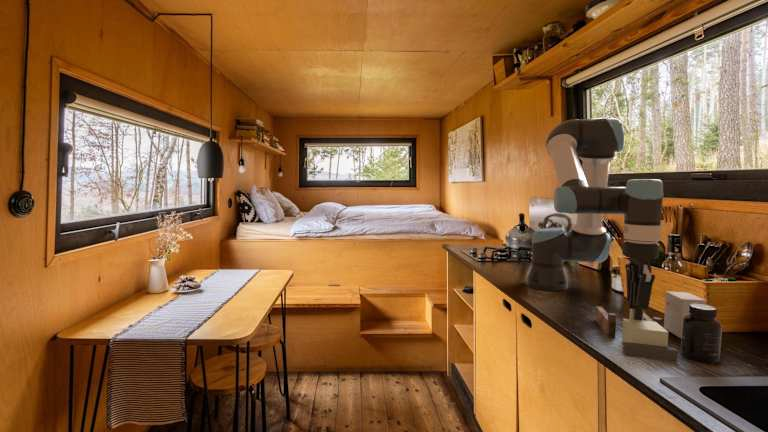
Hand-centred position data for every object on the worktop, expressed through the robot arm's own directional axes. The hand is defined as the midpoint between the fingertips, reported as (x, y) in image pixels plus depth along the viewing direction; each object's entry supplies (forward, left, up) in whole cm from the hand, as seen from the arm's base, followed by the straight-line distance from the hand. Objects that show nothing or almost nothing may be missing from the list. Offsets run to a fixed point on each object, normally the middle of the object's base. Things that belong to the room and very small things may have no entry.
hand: (635, 333), depth 94 cm
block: (+5, 0, -2) cm, 6 cm away
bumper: (+10, 0, -2) cm, 10 cm away
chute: (-7, 0, -2) cm, 7 cm away
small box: (-9, +14, -2) cm, 17 cm away
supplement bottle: (+6, +11, -2) cm, 13 cm away
